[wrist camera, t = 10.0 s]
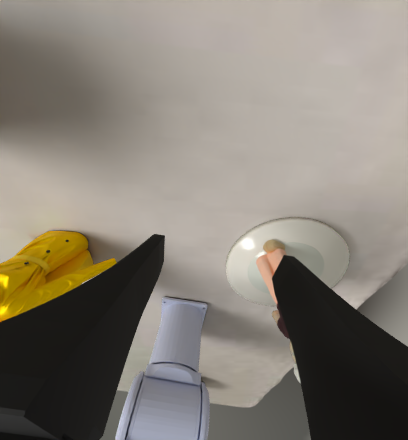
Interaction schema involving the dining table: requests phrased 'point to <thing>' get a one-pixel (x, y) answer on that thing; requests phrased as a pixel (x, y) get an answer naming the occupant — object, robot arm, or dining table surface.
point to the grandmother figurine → (267, 269)
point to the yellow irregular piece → (46, 271)
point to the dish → (294, 246)
